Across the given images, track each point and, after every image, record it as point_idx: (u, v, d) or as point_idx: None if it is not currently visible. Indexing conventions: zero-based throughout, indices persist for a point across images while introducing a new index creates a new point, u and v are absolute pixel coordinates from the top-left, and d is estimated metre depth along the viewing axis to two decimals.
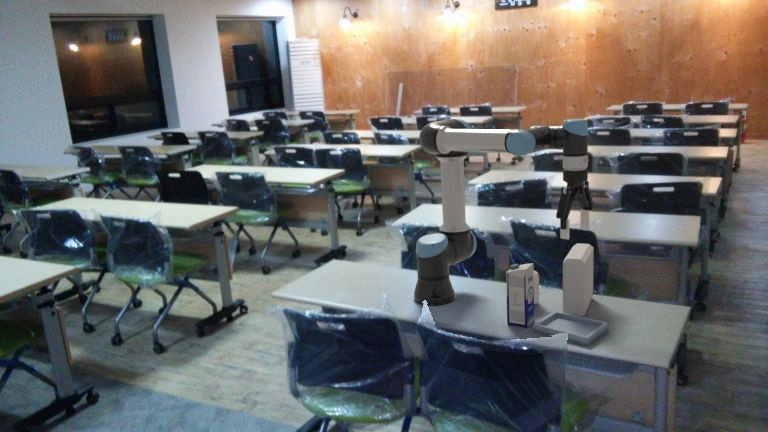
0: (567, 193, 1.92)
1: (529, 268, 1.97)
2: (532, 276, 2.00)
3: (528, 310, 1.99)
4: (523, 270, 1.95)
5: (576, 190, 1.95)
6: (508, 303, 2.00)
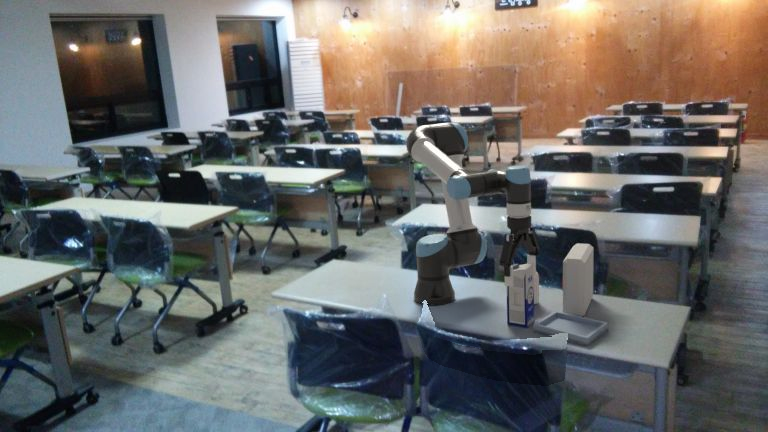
0: (510, 241, 1.91)
1: (529, 268, 1.97)
2: (532, 276, 2.00)
3: (528, 310, 1.99)
4: (523, 270, 1.95)
5: (520, 237, 1.94)
6: (508, 303, 2.00)
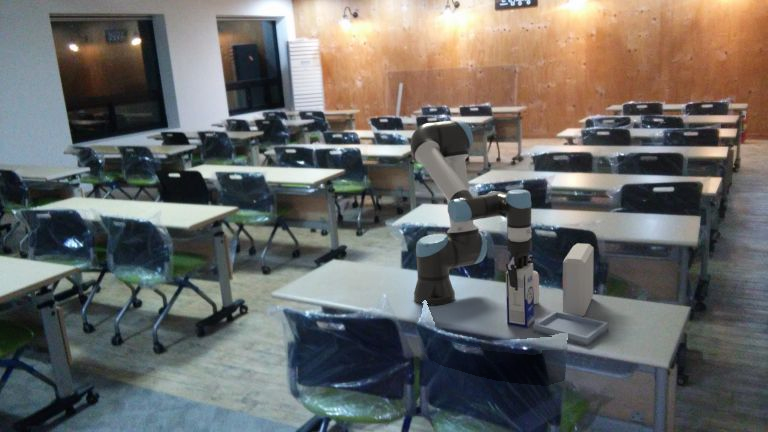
0: (513, 270, 1.95)
1: (529, 268, 1.97)
2: (532, 276, 2.00)
3: (528, 310, 1.99)
4: (523, 270, 1.95)
5: (520, 262, 1.96)
6: (508, 303, 2.00)
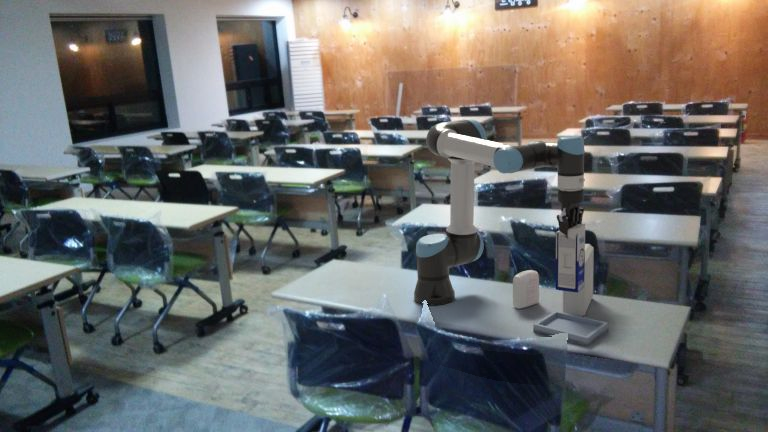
0: (564, 221, 1.82)
1: (581, 228, 1.84)
2: (584, 237, 1.87)
3: (579, 273, 1.86)
4: (575, 229, 1.82)
5: (572, 213, 1.84)
6: (557, 266, 1.88)
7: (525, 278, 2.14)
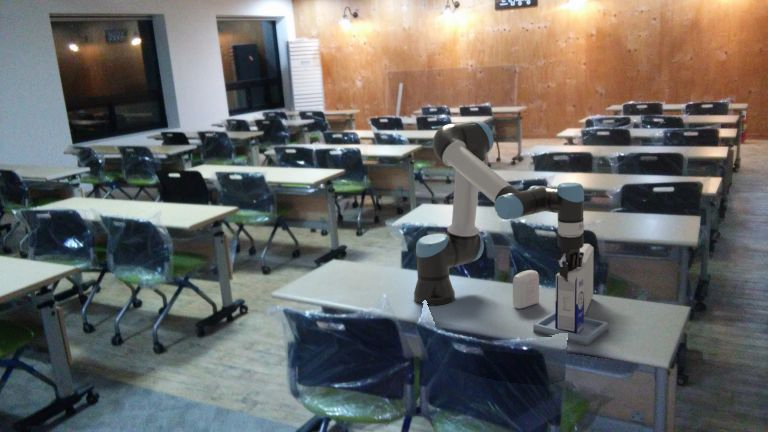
0: (564, 267, 1.85)
1: (580, 271, 1.87)
2: (583, 280, 1.90)
3: (578, 316, 1.88)
4: (574, 273, 1.85)
5: (572, 258, 1.87)
6: (557, 308, 1.90)
7: (525, 278, 2.14)
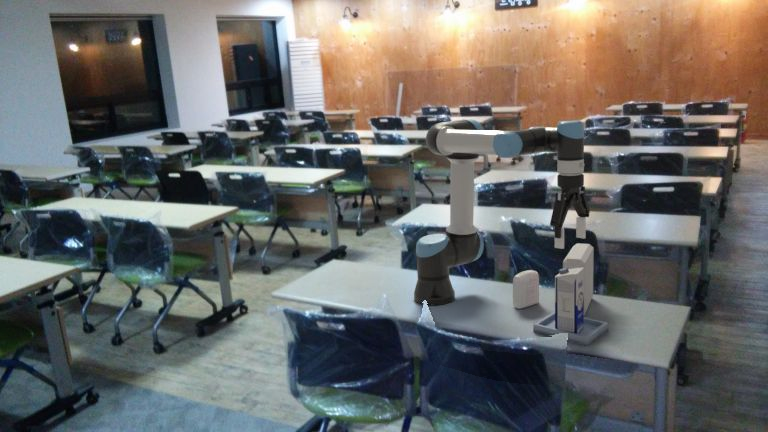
0: (562, 200, 1.80)
1: (580, 273, 1.86)
2: (582, 281, 1.89)
3: (578, 317, 1.88)
4: (573, 275, 1.85)
5: (571, 196, 1.83)
6: (556, 309, 1.90)
7: (525, 278, 2.14)
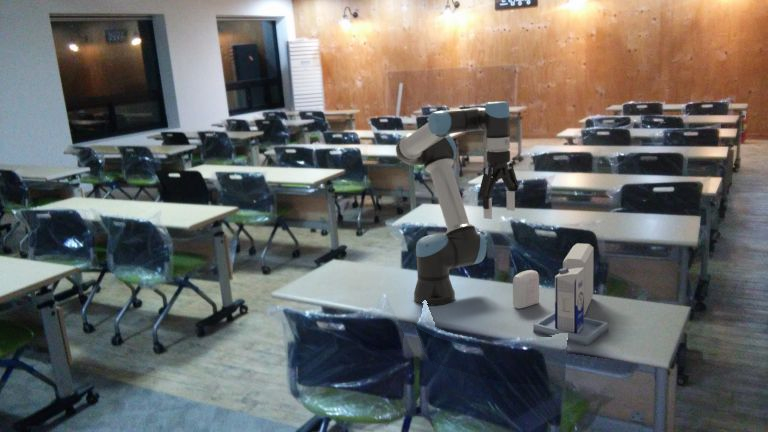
0: (489, 173, 1.97)
1: (580, 273, 1.86)
2: (582, 281, 1.89)
3: (578, 317, 1.88)
4: (573, 275, 1.85)
5: (499, 171, 2.00)
6: (556, 309, 1.90)
7: (525, 278, 2.14)
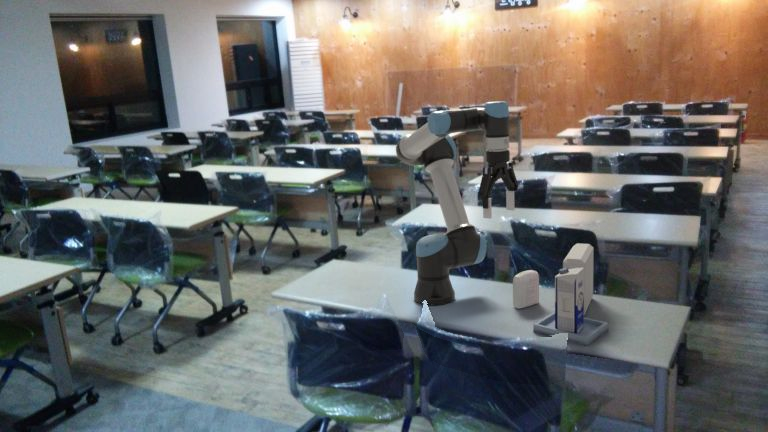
0: (488, 173, 1.97)
1: (580, 273, 1.86)
2: (582, 281, 1.89)
3: (578, 317, 1.88)
4: (573, 275, 1.85)
5: (498, 170, 2.00)
6: (556, 309, 1.90)
7: (525, 278, 2.14)
